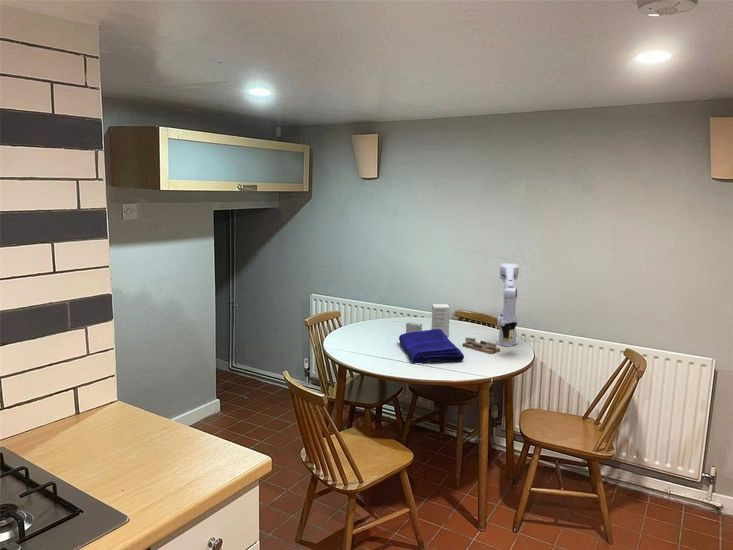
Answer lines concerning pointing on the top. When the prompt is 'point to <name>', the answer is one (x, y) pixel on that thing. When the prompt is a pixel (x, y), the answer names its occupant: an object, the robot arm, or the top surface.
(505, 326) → the robot arm
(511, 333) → the wooden block with knob
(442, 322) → the supplement box
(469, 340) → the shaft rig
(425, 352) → the towel
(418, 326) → the medicine box
